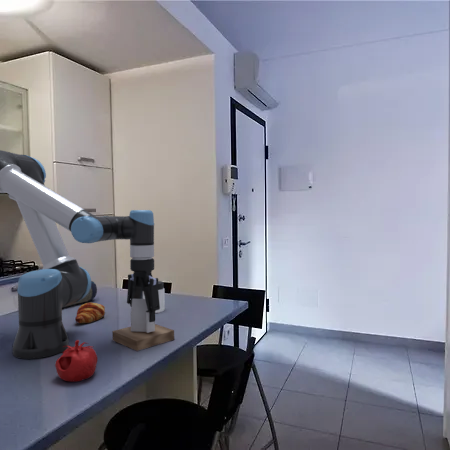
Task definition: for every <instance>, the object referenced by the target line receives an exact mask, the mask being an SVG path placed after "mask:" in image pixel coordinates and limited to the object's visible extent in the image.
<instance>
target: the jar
mask: <svg viewBox="0 0 450 450" xmlns="http://www.w3.org/2000/svg"><path fill="white" fill-rule="evenodd" d="M148 287H149V286H148ZM165 291H166V290H165V288H164V281H161V280H158V293H159V304H160V309H159V310H156V311H155V314H160V313H163V312H164V311H165V309H166V307H165V306H166V304H165V303H166V301H165V300H166V299H165V298H166V297H165ZM143 299H145V296H144V292H143Z"/></svg>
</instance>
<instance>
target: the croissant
mask: <svg viewBox="0 0 450 450" xmlns="http://www.w3.org/2000/svg"><path fill="white" fill-rule="evenodd" d="M105 308H106V306H104V305H103V304H100V303H96V302H92V301H89V302H84V304H83V303H82V304H81V305H80V306H79V307H78V309H77V312H76V316H75V322H76V323H78V324H89V323H92V322H96V321H98V320H100V319H102V318H103V317H105V314H106V312H105V311H106V310H105Z"/></svg>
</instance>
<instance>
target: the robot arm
mask: <svg viewBox="0 0 450 450" xmlns="http://www.w3.org/2000/svg"><path fill="white" fill-rule="evenodd" d="M43 165H44V164H43V163H41V162H40V161H39V160H38V159H36V158H34V157H32V156H29V155H27V154H18V153H15V152H10V151H6V150H1V149H0V194H5V193H7V196H8V198H9V199H11V200H13V201H14V202H16V203H17V206H18V209H19V211H20V214H21V216H22V219H23V221H24V223H25V225H26V228H27V230H28V233H29V234H30V237H31V239H32V242H33V244H34V247H35V249H36V252H37V254H38V256H39V259H40V261H41V264H42V266H43V267H42V269H38V270H32V271H29V272H26V273H24V274H22V275H20V277H19V278H18V284H17V286H18V287H17V289H16V290H17V302H18V305H17V306H18V328H17V332H16V335H15V338H14V341H13V345H12V356H14V357H15V358H17V359H18V358H19V359H24V360H25V359H26V360H28V359H29V360H30V359H39V358H40V359H41V358H42V359H43V358H47V357H52V356H54V355H57V354H58V355H59V354H60V353H63V352H64V351H65V350H66V349H67V348H69V347H64V346H70V344H69V342H70V341H69V340H70V339H69V336H68V334H67V332H66V329H65V326H64V323H63V312H62V311H63V308H66V307H65V306H67V305H70V304H73V303H76V302H78V301H80V300H81V299H83V298H84V297H85V296H86V295H87V294H88V293H89V291H90V288H91V281H92V278H91V275H90V273H89V271H87V270H86V268H83V267H82V266H80V265H79V263H78V261H77V258H75V257H72V256H71V255H69V252H68V249H67V247H66V244H65V243H64V240H63V238H62V236H61V233H60V230H59V228H58V226H57V224H58V225H59V226H61V227H63V228H64V229H66V230H67V231H69V232H70V233H71V235H72V238H73V239H74V240H75V241H77V242H79V243H82V244H93V243H99V242H106V241H113V240H125V241H126V240H129V257H130V258H131V259H130V261H129V262H130V265H129V266H130V268H129V269H130V271H132V272H133V273H129V274H128V275H127V286H128V287H127V295H126V297H127V298H126V303H127V304H128V305H130V307H132V299H140V295H141V291H143V292H144V296H145V300H146V305H147V309H148V310H147V311H146V332H147V333H149V332H153V331H155V324H156V323H155V322H156V313H155V311H156V310H159V309H160V304H159V293H158V281H159V278H158V277H153V274H152V272H153V271H154V270H155V258H154V257H155V220H154V219H155V218H154V212H153V211H152V210H150V209H134V210H133V209H131V210H130V211H129V215H126V216H123V215H122V216H121V215H120V216H117V215H116V216H114V215H110V216H109V215H103V216H99V215H98V216H97V215H95V214H92V212H89V211H87V210H86V209H85V208H83V207H81V206H79V205H78V204H76V203H74V202H73V201H71V200H69V199H68V198H66V197H64V196H63V195H61V194H59V193H57V192H56V191H54V190H52V189H50V188H49V187H47V186H46V185H45V182H46V180H45V179H46V178H47V173H46V169H45V167H44V166H43ZM148 286H149V287H148ZM62 307H63V308H62ZM67 307H68V306H67Z"/></svg>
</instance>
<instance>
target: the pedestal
mask: <svg viewBox="0 0 450 450" xmlns="http://www.w3.org/2000/svg"><path fill="white" fill-rule="evenodd" d="M174 340H175V329H171V328H168V327H165V326H162V325H159V324H156V323H155V331H153V332H149V333H147V332H133V331H131V326H126V327H123V328H119V329H115V330H112V341H113V342H116V343H117V344H120V345H122V346H124V347H126V348H129V349H131V350H133V351H136V352H138V351H141V350H145V349H149V348H152V347H154V346H157V345H161V344H164V343H168V342H171V341H174Z"/></svg>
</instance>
